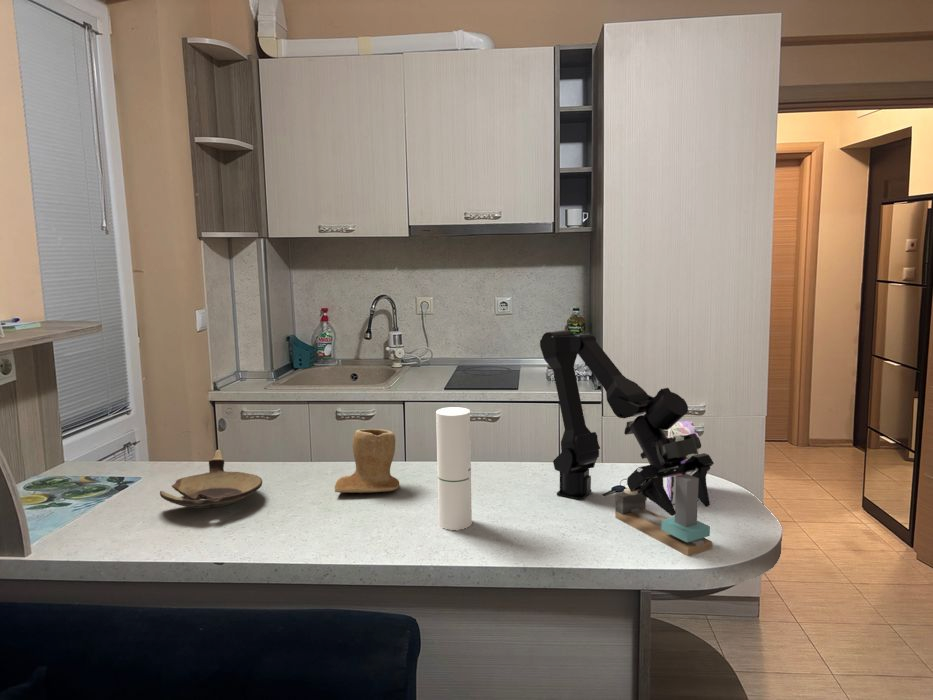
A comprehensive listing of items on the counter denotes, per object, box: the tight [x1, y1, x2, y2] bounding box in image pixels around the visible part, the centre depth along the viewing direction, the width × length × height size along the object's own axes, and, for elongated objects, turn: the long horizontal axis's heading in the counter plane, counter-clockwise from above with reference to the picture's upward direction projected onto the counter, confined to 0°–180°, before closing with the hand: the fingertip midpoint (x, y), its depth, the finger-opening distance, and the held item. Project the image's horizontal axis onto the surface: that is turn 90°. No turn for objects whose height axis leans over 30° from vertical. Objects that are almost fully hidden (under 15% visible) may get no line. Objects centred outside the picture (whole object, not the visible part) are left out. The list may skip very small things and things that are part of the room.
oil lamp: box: [159, 449, 263, 509], centre depth 170 cm, size 22×30×8 cm
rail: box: [614, 487, 713, 557], centre depth 147 cm, size 22×6×6 cm, turn 28°
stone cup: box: [334, 428, 400, 494], centre depth 174 cm, size 15×12×15 cm
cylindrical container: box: [435, 406, 473, 531], centre depth 152 cm, size 7×7×25 cm
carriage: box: [661, 474, 711, 542], centre depth 141 cm, size 7×6×12 cm
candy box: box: [666, 420, 700, 505], centre depth 167 cm, size 14×6×16 cm, turn 168°
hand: (691, 510), depth 139 cm, fingers open, 9 cm apart
